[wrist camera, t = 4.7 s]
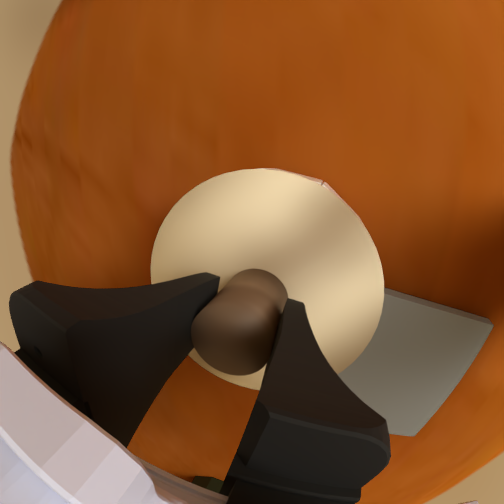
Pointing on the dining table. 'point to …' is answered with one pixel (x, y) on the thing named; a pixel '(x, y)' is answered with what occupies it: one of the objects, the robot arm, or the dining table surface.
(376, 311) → the lid
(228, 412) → the dining table surface
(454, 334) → the mat
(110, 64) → the dining table surface
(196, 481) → the wine bottle
